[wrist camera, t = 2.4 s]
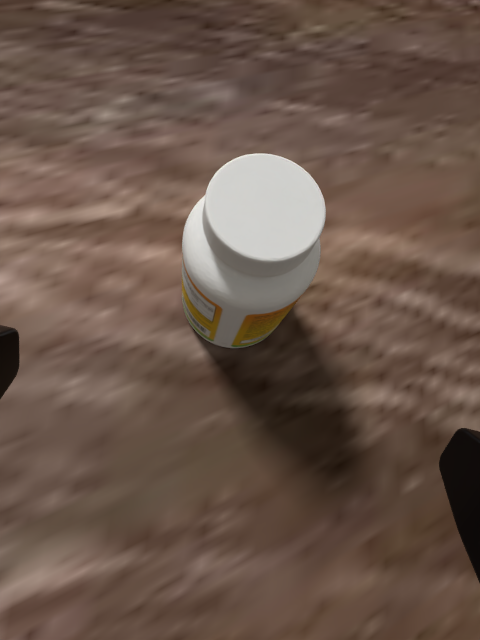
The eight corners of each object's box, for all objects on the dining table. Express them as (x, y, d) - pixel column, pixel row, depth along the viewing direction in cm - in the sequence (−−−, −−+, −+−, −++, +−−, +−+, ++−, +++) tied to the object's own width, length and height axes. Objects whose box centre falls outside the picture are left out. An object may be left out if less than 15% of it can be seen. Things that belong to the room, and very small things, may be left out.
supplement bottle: (292, 269, 24) (361, 160, 15) (270, 362, 23) (331, 304, 13) (197, 241, 24) (208, 113, 15) (168, 333, 22) (159, 254, 13)
